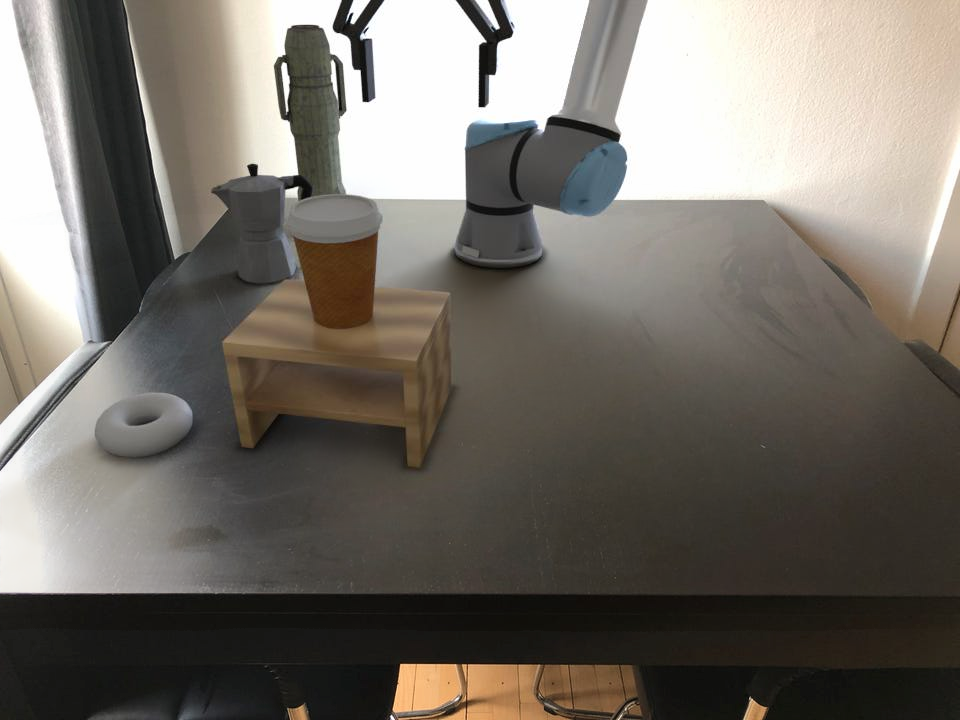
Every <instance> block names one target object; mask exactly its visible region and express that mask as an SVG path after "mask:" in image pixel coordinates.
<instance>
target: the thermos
mask: <svg viewBox="0 0 960 720" xmlns="http://www.w3.org/2000/svg"><path fill="white" fill-rule="evenodd" d="M283 47H284V54H282V56H277V58H276V59H275V62H274V64H273V71H274V79H275V87H276V88H275V89H276V96H277V103H278V104H277V105H278V110H279V115H280V119H281V120H282V121H287V122H288V123H289V128H290V129H289V130H290V133H291V135H292V137H293V140H294V141H293V142H294V149H295V150H294V151H295V157H296V167H297V175H303V176H304V177H305V178H306V179H307V180H308V181H310V182H311V184H312V185H313V193H312V197H314V196H321V195H330V194H347V191H346V187H345V185H344V184H343V179H342V178H343V177H342V168H341V167H342V166H341V153H340V144H339V143H340V141H339V134H340V131H341V124H340V119H341V117H343V116H344V114H346V112H347V111H348V110H347V109H348V108H347V100H346V88H345V87H346V85H345V73H344V64H343V62H342V60H341V59H340V58H339V57H338V56H337V55H336V54H332V53H331V48H330V47H331V45H330V42H329V39H328V37H327V34H326V32H325V30H324V27H320V25H319V24H318V25H317V24H293V25H291V27H288V28H287V29H286V34H285V39H284V45H283ZM332 62H333V63H334V66H335V69H334V70H335V79H336V80H335V81H336V92H337V93H335V90H334V83H333V82H332V75H333V71H332ZM283 63H284V64H286V72H287V76H288V79H289V83H288V90H289V91H288V96H287V100H286V97H285V89H284V87H285V85H284V78H283V70H282V66H283ZM336 94H337V95H336ZM286 102H287V104H286ZM302 190H303V188H302V187H297V190H296V193H297V202H298V201H300V200H301V193H302Z"/></svg>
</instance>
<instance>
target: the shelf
mask: <svg viewBox="0 0 960 720" xmlns="http://www.w3.org/2000/svg"><path fill="white" fill-rule="evenodd" d="M451 334H452V333H451V292H447V291H434V290H423V289H421V290H420V289H409V288H397V287H386V286H385V287H384V286H375V289H374V305H373V316H372V318H371V319H370V320H369V321H367V322H366V323H364V324H361V325H359V326H355V327H350V328H329V327H325V326H322V325H320V324H318V323H317V322H316V321H315V320H314V317H313V313H312V309H311V305H310V301H309V297H308V293H307V289H306V285H305V281H304V280H299V279H290V278H288V279H285V280H283V281H281V282H280V283H279V285H278V286H276V288H275V289H274V290H273V291H272V292H270V294H268V295H267V296H266V297H265V298H264V299H263V301H261V303H259V304H258V305H257V306H256V307H255V308H254V309H253V310H252V312H250V313H249V315H247V316H246V318H245V319H243V321H241V323H240V324H239V325H237V326H236V327H235V328H234V329H233V330H232V332H231V333H229V335H228V336H227V337H225V338H224V340H222V342H221V344H222V350H223V355H224V359H225V365H226V366H225V367H226V371H227V376H228V382H229V387H230V392H231V398H232V404H233V409H234V414H235V419H236V425H237V431H238V436H239V441H240V446H241V448H248V449H254V448H255V446H256V445H257V444H258V443H259V441H260V440H261V439H262V437H263V436H264V434H265V433H266V432H267V430H268V429H269V428H270V426H271V425H272V424H273V422H274V421H275V420H276V418H277V416H278V415H279V414H280V415H290V416H298V417H307V418H315V419H316V418H317V419H324V420H325V419H326V420H333V421H334V420H335V421H344V422H354V423H362V424H372V425H381V426H390V427H397V428H398V427H399V428H405V443H406V463H407V467H409V468H416V469H417V468H419V469H420V468H421V467H422V465H423V462H424V459H425V456H426V454H427V451H428V449H429V446H430V444H431V441H432V438H433V436H434V434H435V431H436V428H437V425H438V423H439V421H440V418H441V416H442V413H443V411H444V408H445V406H446V403H447V401H448V397H449V395H450V392H451V389H452V350H451V349H452V348H451V347H452V346H451V345H452V344H451V343H452V342H451V340H452V339H451V336H452V335H451Z"/></svg>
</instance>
